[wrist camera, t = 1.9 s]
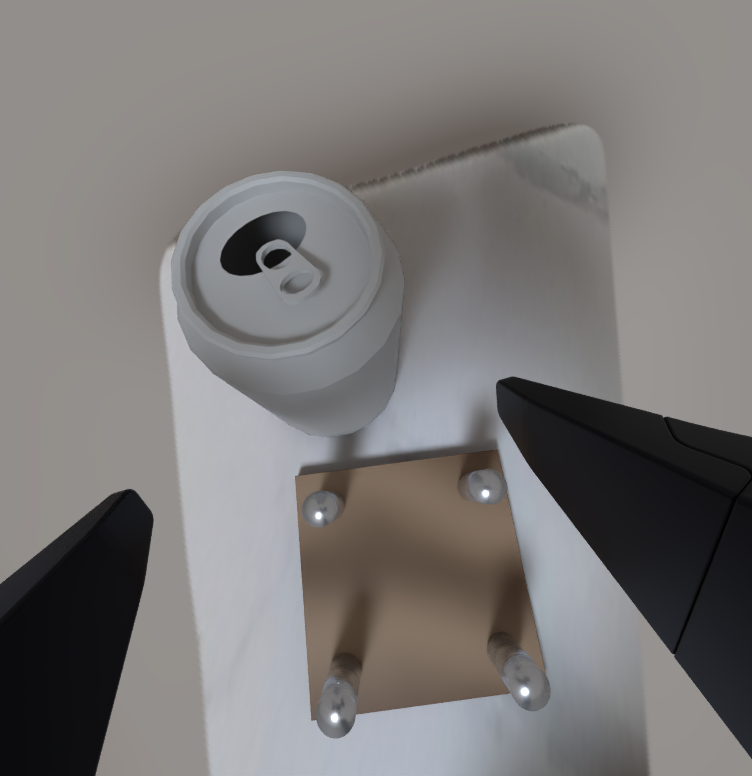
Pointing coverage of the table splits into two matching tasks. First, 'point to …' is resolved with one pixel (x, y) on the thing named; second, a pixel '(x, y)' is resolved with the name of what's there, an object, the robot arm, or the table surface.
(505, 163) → the table surface
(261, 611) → the table surface
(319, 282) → the can
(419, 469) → the standoff plate
